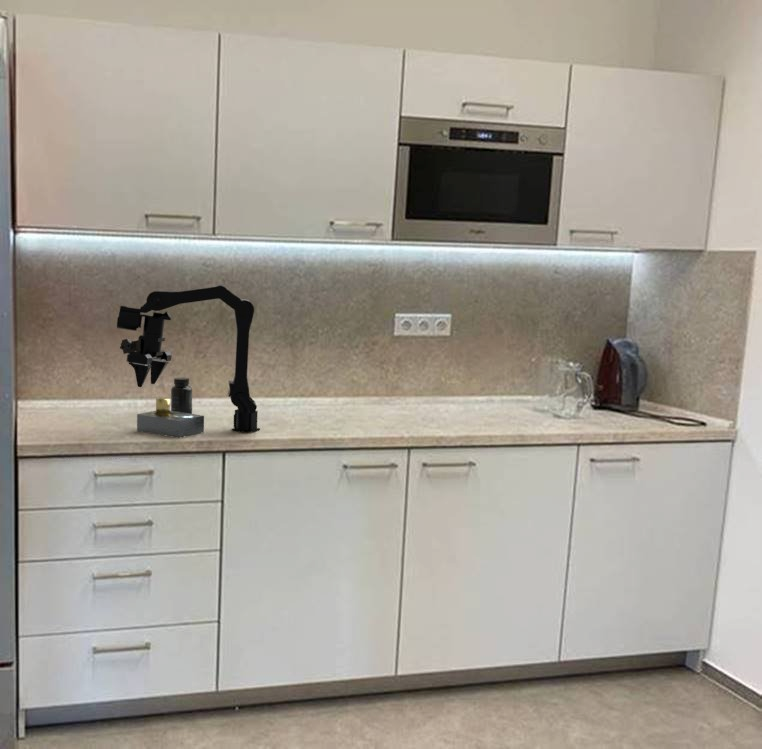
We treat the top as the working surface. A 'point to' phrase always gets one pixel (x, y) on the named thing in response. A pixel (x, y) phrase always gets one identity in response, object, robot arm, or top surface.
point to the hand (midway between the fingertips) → (146, 385)
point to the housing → (171, 423)
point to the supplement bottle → (181, 396)
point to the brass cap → (163, 407)
